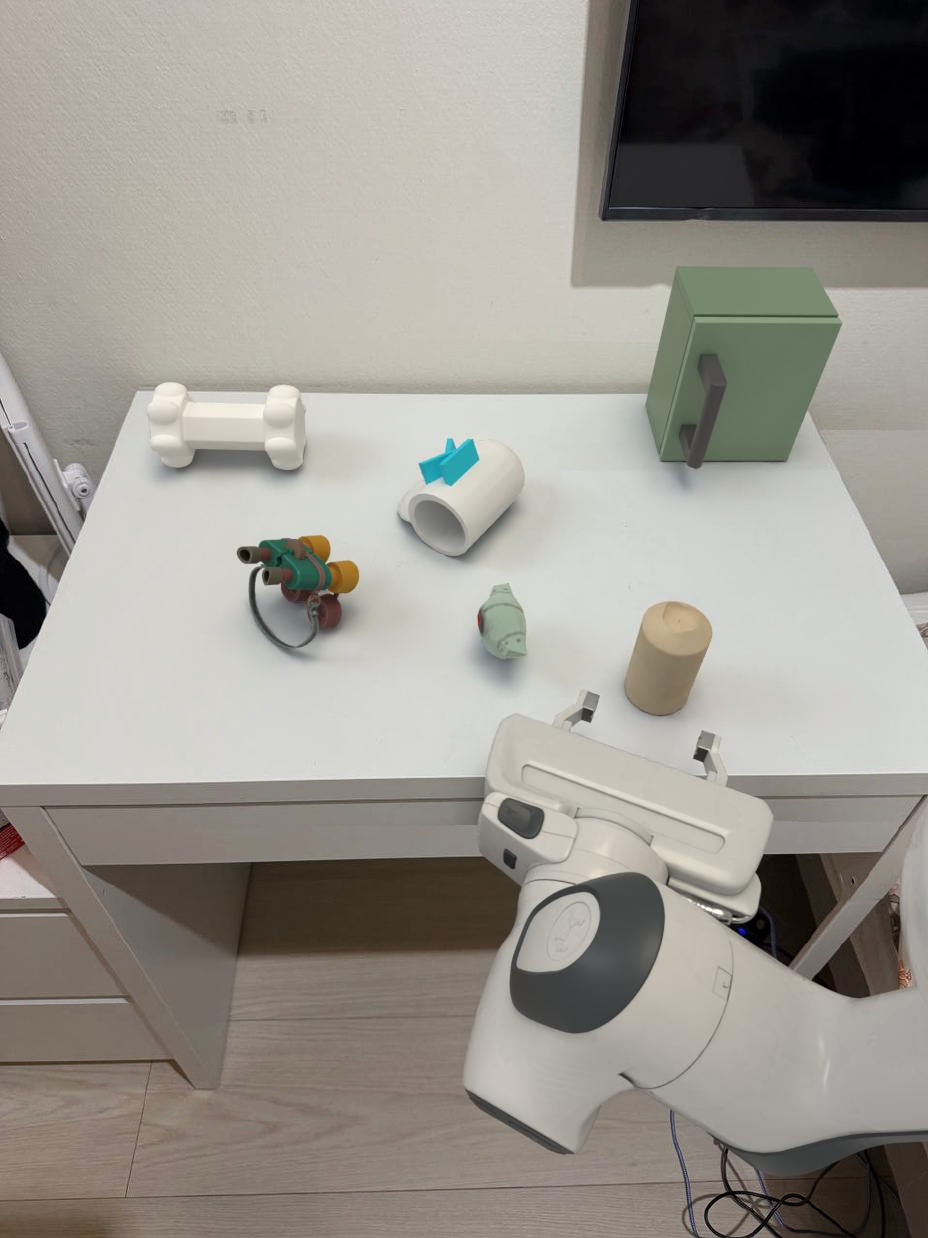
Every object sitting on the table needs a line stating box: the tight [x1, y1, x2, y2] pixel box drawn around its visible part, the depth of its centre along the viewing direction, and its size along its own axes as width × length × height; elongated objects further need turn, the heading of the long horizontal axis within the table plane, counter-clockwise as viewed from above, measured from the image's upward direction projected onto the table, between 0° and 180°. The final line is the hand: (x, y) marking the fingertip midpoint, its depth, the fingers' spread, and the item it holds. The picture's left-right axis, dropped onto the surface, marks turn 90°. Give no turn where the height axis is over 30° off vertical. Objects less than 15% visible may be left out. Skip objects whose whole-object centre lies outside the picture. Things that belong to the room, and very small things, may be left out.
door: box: [658, 317, 843, 470], centre depth 85 cm, size 6×14×17 cm, turn 92°
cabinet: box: [644, 265, 840, 455], centre depth 90 cm, size 9×14×17 cm, turn 92°
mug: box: [397, 437, 525, 557], centre depth 84 cm, size 12×9×12 cm
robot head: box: [476, 582, 528, 660], centre depth 73 cm, size 8×4×7 cm, turn 9°
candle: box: [624, 600, 713, 716], centre depth 69 cm, size 6×6×10 cm
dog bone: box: [145, 381, 308, 471], centre depth 88 cm, size 15×9×8 cm, turn 90°
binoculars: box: [236, 534, 360, 650], centre depth 73 cm, size 9×9×10 cm
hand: (648, 716), depth 65 cm, fingers open, 8 cm apart
